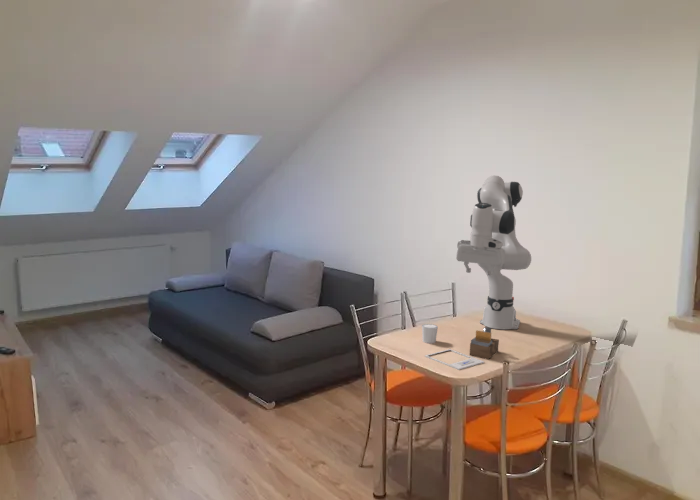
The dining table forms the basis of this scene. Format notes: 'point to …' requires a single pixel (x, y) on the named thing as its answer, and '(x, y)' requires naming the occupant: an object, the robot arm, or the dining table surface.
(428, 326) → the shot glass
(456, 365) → the photo frame
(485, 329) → the peg
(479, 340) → the bar
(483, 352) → the dock
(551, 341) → the dining table surface
